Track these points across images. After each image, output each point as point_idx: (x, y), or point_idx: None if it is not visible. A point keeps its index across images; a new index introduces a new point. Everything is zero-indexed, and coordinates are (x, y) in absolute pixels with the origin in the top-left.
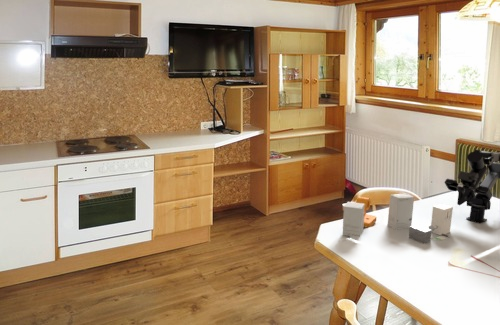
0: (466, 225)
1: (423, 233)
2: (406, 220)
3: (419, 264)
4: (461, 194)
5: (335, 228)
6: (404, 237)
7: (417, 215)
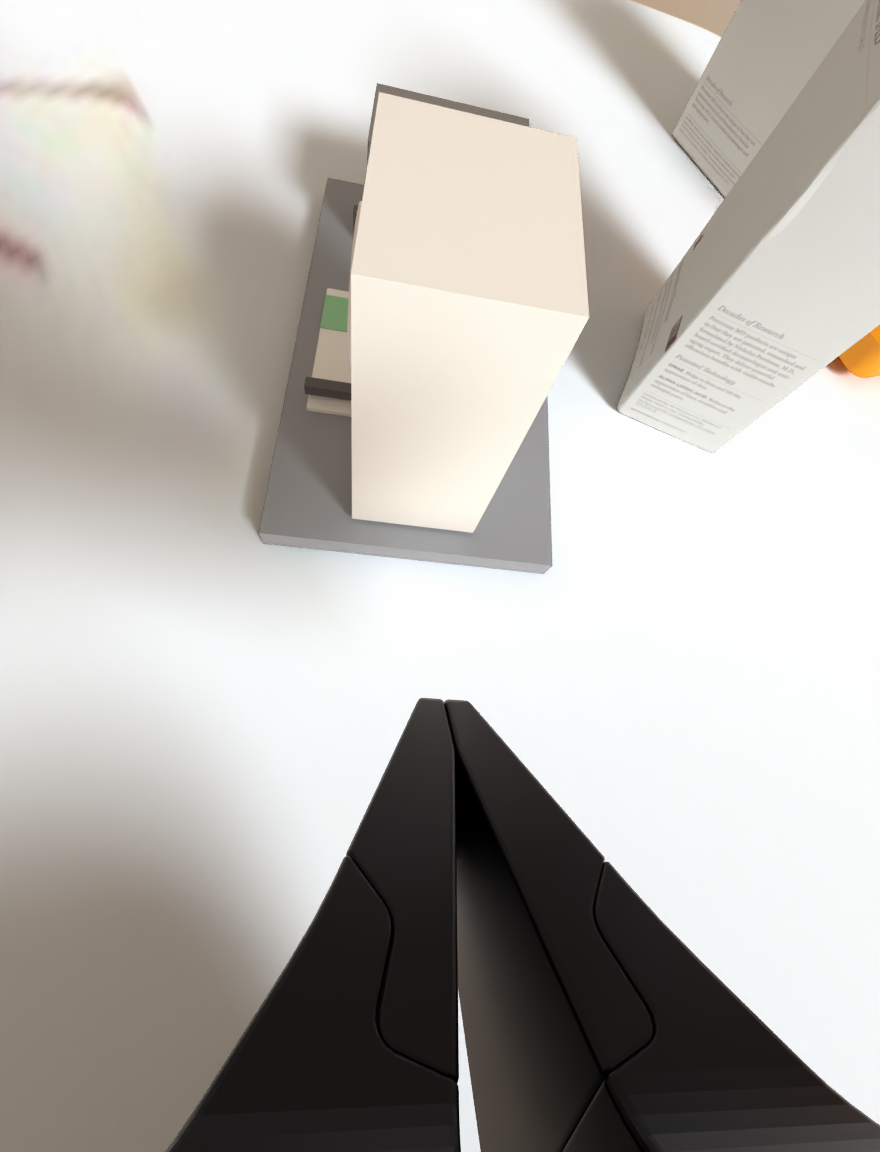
0: None
1: None
2: (677, 307)
3: (262, 31)
4: (553, 979)
5: None
6: None
7: (862, 810)
